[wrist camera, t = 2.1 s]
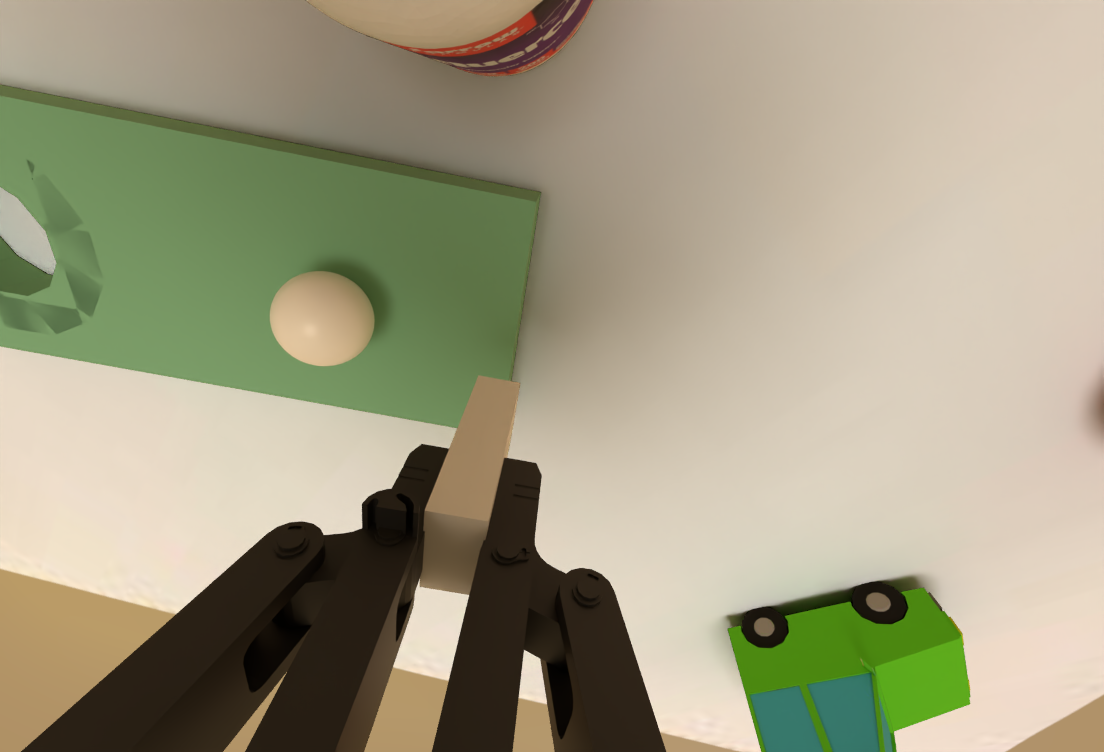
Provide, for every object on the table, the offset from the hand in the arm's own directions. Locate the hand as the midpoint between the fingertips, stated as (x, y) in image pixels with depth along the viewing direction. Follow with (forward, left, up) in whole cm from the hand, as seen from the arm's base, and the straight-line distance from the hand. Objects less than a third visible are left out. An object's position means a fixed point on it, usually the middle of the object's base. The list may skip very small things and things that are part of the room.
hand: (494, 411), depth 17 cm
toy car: (+20, +26, -9) cm, 34 cm away
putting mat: (0, -15, -8) cm, 17 cm away
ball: (0, -8, -6) cm, 10 cm away
